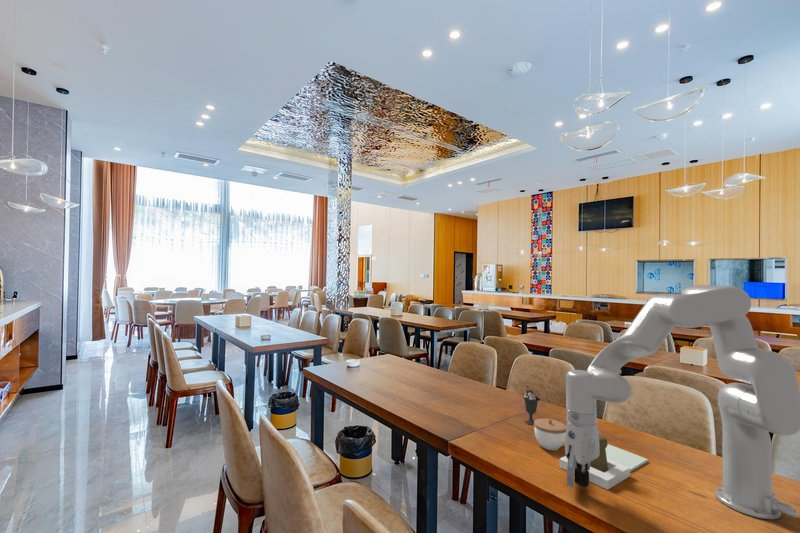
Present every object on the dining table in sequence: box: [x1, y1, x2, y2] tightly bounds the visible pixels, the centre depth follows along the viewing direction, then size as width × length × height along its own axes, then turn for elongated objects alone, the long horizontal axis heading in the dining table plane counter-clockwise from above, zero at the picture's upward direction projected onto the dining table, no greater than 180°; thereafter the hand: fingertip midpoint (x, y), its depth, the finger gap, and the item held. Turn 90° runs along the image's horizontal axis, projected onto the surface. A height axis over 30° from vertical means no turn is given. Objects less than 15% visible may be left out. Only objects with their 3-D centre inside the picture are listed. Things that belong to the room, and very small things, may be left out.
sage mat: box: [605, 443, 649, 473], centre depth 119 cm, size 13×13×1 cm
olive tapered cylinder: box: [590, 434, 609, 473], centre depth 110 cm, size 6×6×11 cm
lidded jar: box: [533, 418, 567, 451], centre depth 127 cm, size 11×11×9 cm
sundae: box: [522, 385, 541, 425], centre depth 148 cm, size 7×7×15 cm
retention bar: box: [566, 459, 575, 488], centre depth 105 cm, size 19×2×2 cm, turn 154°
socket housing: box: [558, 455, 631, 491], centre depth 110 cm, size 14×14×3 cm
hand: (581, 484), depth 98 cm, fingers closed
